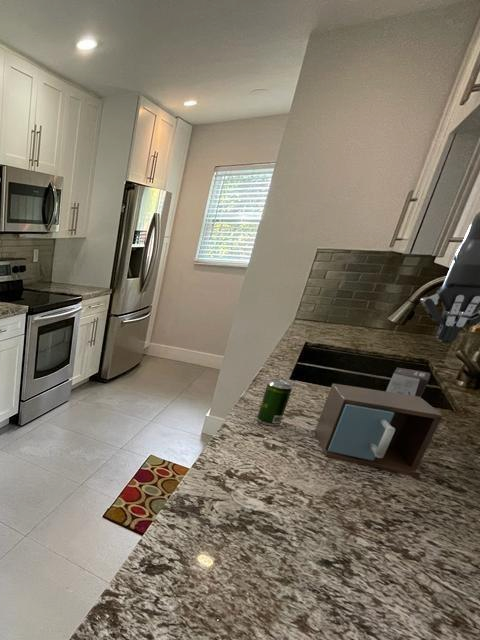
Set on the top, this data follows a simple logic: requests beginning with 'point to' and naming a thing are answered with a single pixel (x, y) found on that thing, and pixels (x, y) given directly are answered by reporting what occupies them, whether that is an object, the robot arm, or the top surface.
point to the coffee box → (408, 382)
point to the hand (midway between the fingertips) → (443, 342)
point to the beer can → (274, 402)
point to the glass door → (363, 432)
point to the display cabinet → (409, 422)
